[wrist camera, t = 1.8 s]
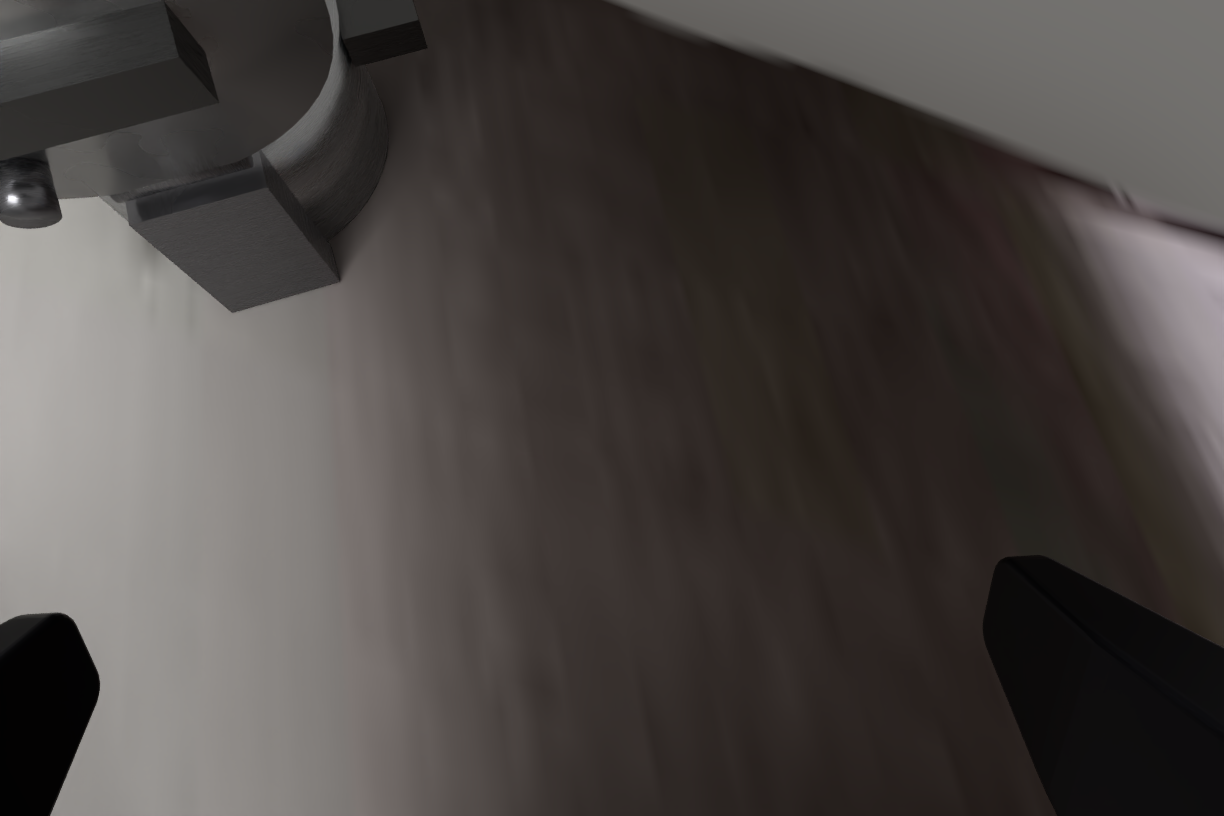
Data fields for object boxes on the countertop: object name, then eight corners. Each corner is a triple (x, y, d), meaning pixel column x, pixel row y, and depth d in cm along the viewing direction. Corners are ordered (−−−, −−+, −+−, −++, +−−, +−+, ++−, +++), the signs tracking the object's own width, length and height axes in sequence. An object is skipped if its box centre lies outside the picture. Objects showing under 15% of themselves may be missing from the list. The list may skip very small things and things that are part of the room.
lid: (381, 102, 18) (402, 174, 18) (-25, 211, 18) (-7, 287, 17) (162, -354, 9) (205, -208, 8) (-773, -153, 8) (-750, 11, 8)
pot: (75, 357, 22) (-72, 280, 17) (40, 90, 25) (-97, -41, 20) (487, 239, 23) (454, 135, 18) (411, -6, 26) (365, -152, 21)
